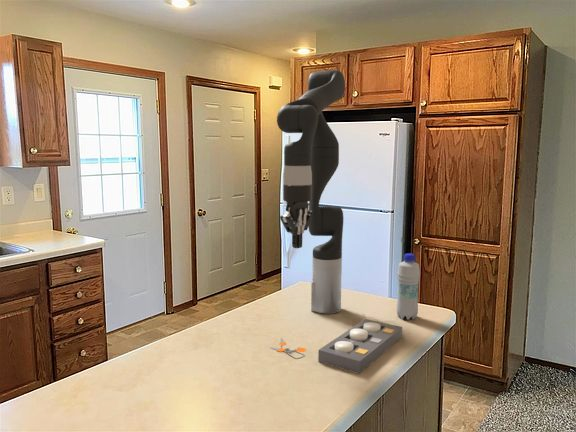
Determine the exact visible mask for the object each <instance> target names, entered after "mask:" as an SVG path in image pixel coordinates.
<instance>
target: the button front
mask: <svg viewBox="0 0 576 432" xmlns="http://www.w3.org/2000/svg"><path fill="white" fill-rule="evenodd" d="M353 349H354V345H353V344H352V343H351V342H347V341H339V342H336V343H335V350H337V351H340V352H344V353H348V354H349V353H351V352H352V351H353Z"/></svg>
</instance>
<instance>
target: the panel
mask: <svg viewBox="0 0 576 432" xmlns="http://www.w3.org/2000/svg"><path fill="white" fill-rule="evenodd" d="M368 322H374V323H378V324H380V326H381V328H380V331H379V332H378V333H376V332H372V331H367V330H366V331H367V332H368V340H367V341H366V342H364V343H363V342H359V341H355V340H351V339H350V330H352V329H363V325H364V323H368ZM402 338H403V326H399V325H396V324H390V323H386V322H381V321H377V320H373V319H370V318H369V319H367V318H365V319H363V320H362V321H360V322H358V323H357V324H356V325H354V326H352V327H351V328H350V329H348V330H347V331H345V332H344V333H342V334H340V335H339V336H338V337H335V338H334V339H333V340H331V341H330V342H329V343H326V345H324V346H322V347H321V348H319V349H318V357H317V358H318V361H317V362H318V363H322V364H325V365H328V366H332V367H336V368H339V369H342V370H345V371H348V372H352V373H356V374H361V373H362V372H363V371H364V370H366V369H367V368H369V366H370V365H372V364H373V363H374V362H375V361H376V360H377V359H379V358H380V357H381V356H382V355H383V354H384V353H386V352H387V351H388V350H389V349H391V348H392V346H393V345H395V344H396V343H397V342H399V341H400V340H401V339H402ZM339 341H347V342H351V343H352V344H353V345H354V349H353V351H352V352H351V353H349V354H348V353H344V352H340V351H337V350H335V343H336V342H339Z"/></svg>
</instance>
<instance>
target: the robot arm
mask: <svg viewBox="0 0 576 432" xmlns="http://www.w3.org/2000/svg"><path fill="white" fill-rule="evenodd" d="M345 91H346V80H345V76H344V74H343V73H342V71H340V70H338V69H337V70H336V69H330V70H321V71H314V72H313V71H312V72H311V73H310V74H309V76H308V80H307V91H306V92H304V94H302V95H301V96H300V97H299V98H298V99H295V100H293V101H290V102H288V103H285V104H284V105H283V106H281V108H280V109H279V111H278V112H277V116H276V123H277V126H278V129H279V130H281V132H283V133H286V134H301V137H300V138H299V140H296V141H293V142H288V143H286V144H285V145H284V150H283V155H284V158H283V159H284V160H283V165H284V166H283V175H282V181H283V182H282V185H283V187H282V194H283V197H282V198H283V199H282V200H283V201H284V202H286V206H285V213H284V214H281V215H280V217H279V218H280V219H279V220H281V223H282V224H283V227H284V229H285V231H286V233H290V234H291V243H292V244H291V245H292V248H294V249H301V248H302V247H303V234H304V233H305V231H308V233H309V234H310V235H311V236H313V237H331V238H330V239H329V240H328V241H326V242H324V243H322V244H318V245H317V246H314V247H313V248H312V280H311V285H310V286H311V293H310V294H311V297H310V298H311V303H310V304H311V305H310V307H311V309H310V310H311V312H316V313H320V314H326V315H327V314H329V315H330V314H337V313H339V312H340V311H342V274H343V273H342V270H343V269H342V268H343V266H342V265H343V264H342V263H343V231H344V211H343V209H342V208H341V207H340V206H320V200H321V197H322V196H323V195H322V194H323V192H324V191H325V188H326V187H327V185H328V183H329V182H330V180H331V179H332V177H333V175H334V174H335V173H336V171H337V169H338V167H339V164H340V145H339V140H338V138H337V137H336V135H335V133H334V132H333V130H332V128H331V127H330V126H329V124H328V122H327V121H326V118H325V116H324V113H323V111H324V110H325V109H327V107H329V106H331V105H332V104H334V103H335V102H337V101H339V100H341V99H342V98H343V97H344V94H345V93H346V92H345Z"/></svg>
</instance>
